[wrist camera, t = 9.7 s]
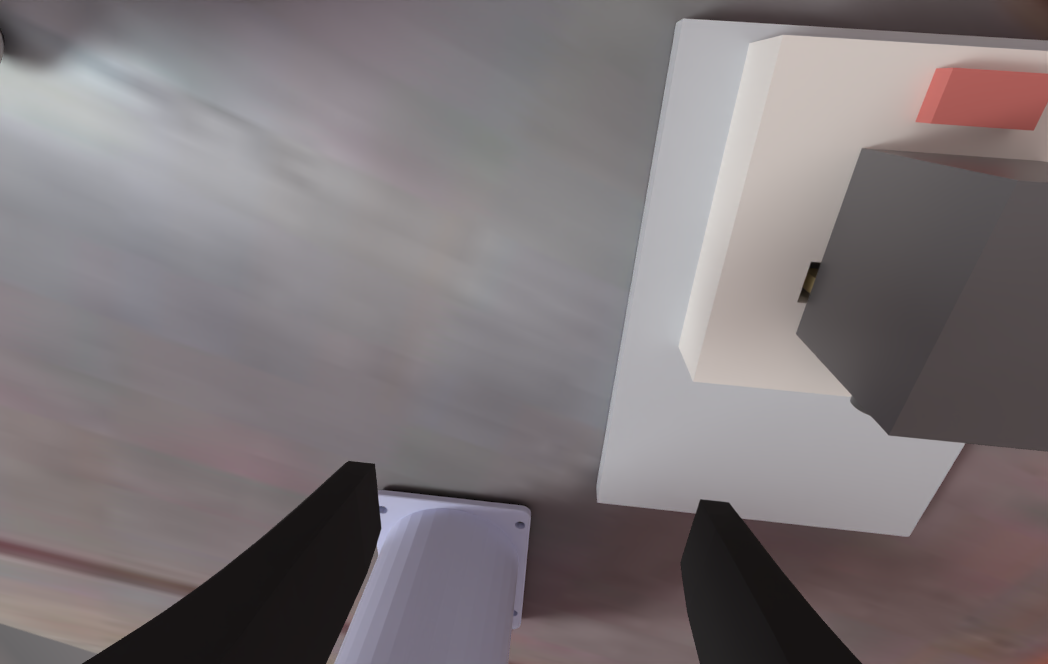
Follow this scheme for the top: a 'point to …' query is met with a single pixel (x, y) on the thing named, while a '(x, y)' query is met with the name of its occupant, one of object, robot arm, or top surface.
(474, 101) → the top surface
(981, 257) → the plug
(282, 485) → the top surface
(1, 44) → the light bulb
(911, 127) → the socket plate
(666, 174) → the socket mat
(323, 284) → the top surface
